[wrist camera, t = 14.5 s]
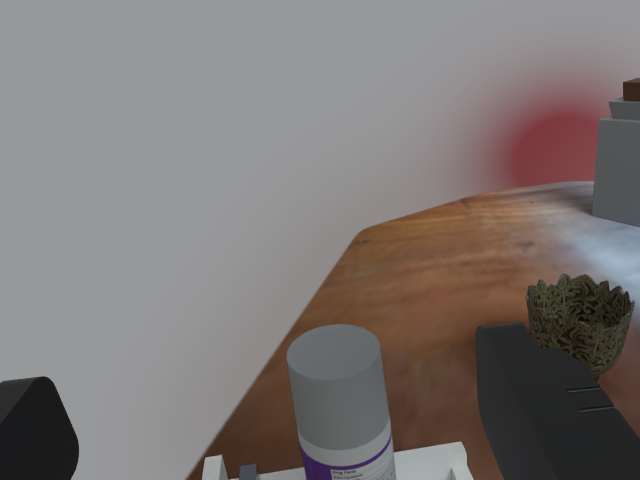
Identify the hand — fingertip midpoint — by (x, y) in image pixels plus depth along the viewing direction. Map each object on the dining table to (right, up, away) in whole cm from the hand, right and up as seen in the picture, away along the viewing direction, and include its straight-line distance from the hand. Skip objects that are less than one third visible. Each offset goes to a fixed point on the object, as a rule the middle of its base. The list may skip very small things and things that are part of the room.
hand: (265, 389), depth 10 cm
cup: (+22, -9, +33) cm, 41 cm away
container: (+4, -16, +20) cm, 26 cm away
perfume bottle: (+44, +6, +63) cm, 77 cm away
